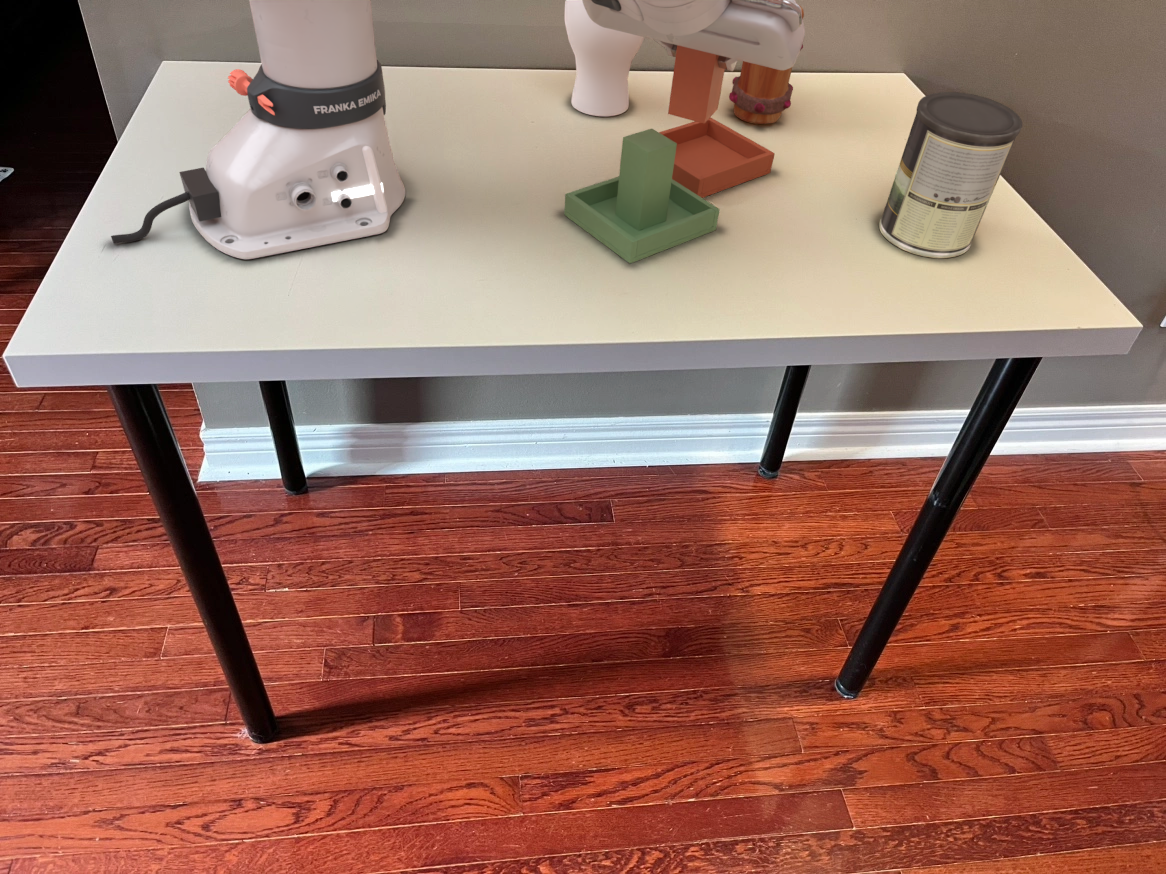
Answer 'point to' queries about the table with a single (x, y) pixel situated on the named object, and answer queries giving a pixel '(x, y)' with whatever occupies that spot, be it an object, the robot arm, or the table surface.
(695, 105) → the terracotta block
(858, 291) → the table surface
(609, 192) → the green tray
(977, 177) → the coffee can
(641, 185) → the green block
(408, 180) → the table surface
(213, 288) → the table surface
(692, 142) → the terracotta tray
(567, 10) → the white vase
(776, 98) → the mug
